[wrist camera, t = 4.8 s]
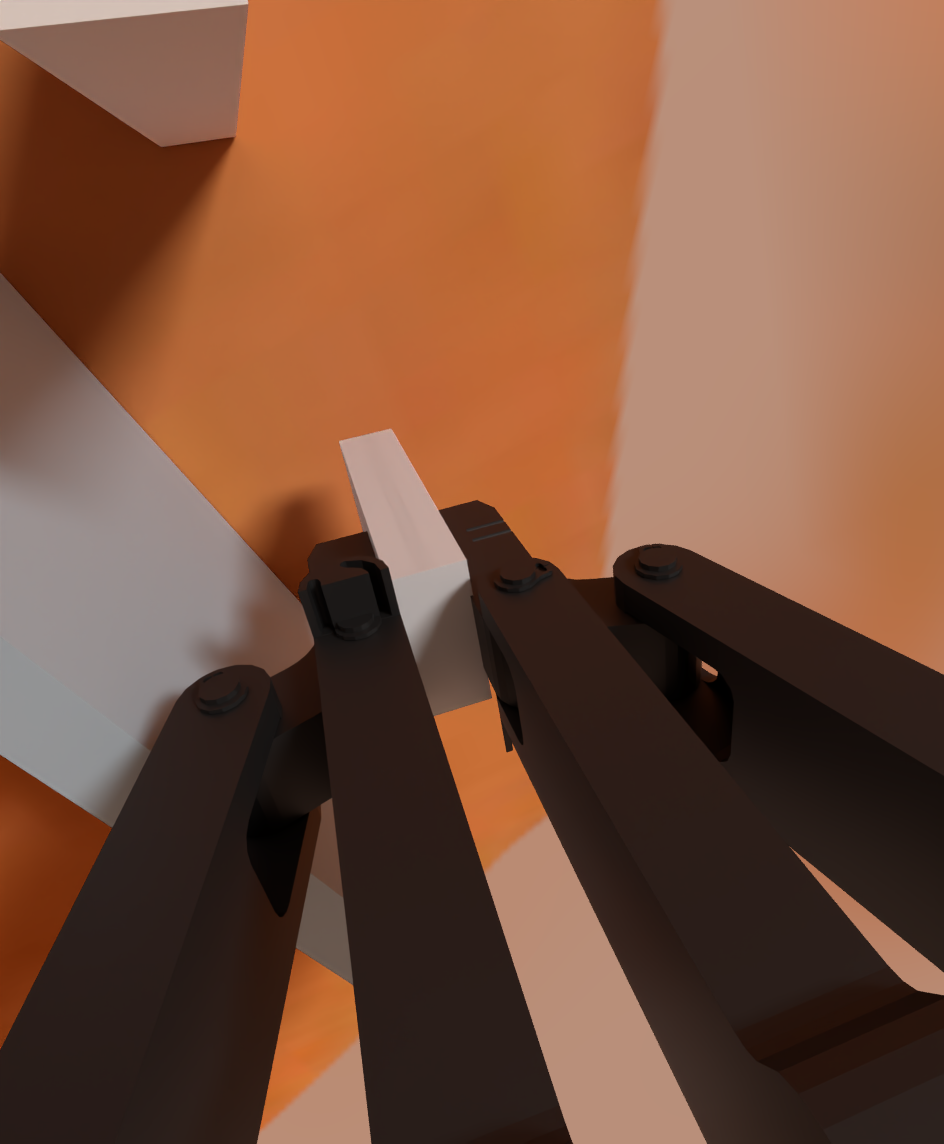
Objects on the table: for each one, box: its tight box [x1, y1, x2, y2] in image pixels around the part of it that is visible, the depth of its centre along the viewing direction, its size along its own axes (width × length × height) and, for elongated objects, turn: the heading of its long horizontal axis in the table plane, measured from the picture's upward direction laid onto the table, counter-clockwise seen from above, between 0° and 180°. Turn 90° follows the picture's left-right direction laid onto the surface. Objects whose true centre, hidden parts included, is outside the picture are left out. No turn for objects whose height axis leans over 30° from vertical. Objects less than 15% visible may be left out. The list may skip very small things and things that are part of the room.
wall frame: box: [0, 0, 248, 147], centre depth 13 cm, size 24×2×12 cm, turn 8°
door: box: [0, 273, 353, 985], centre depth 13 cm, size 15×3×11 cm, turn 30°
